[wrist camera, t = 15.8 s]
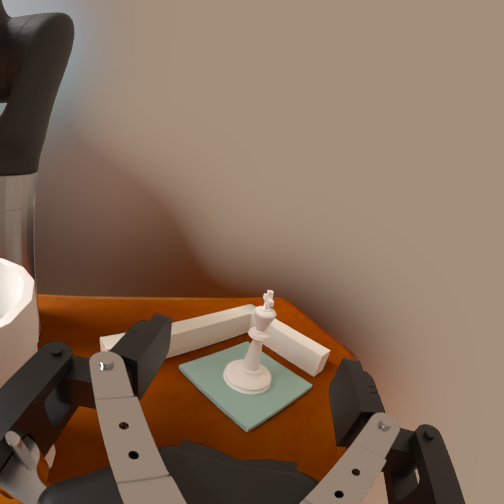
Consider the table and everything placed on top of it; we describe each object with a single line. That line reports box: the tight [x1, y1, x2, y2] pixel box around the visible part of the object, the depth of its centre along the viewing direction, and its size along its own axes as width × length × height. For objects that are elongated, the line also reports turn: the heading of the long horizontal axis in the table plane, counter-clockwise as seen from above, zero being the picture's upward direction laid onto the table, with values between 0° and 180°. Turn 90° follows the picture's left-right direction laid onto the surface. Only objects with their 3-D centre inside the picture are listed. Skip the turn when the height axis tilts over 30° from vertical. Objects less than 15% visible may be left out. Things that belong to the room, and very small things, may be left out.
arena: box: [100, 304, 331, 432], centre depth 27 cm, size 14×21×3 cm, turn 136°
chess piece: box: [223, 290, 276, 395], centre depth 26 cm, size 5×5×10 cm
